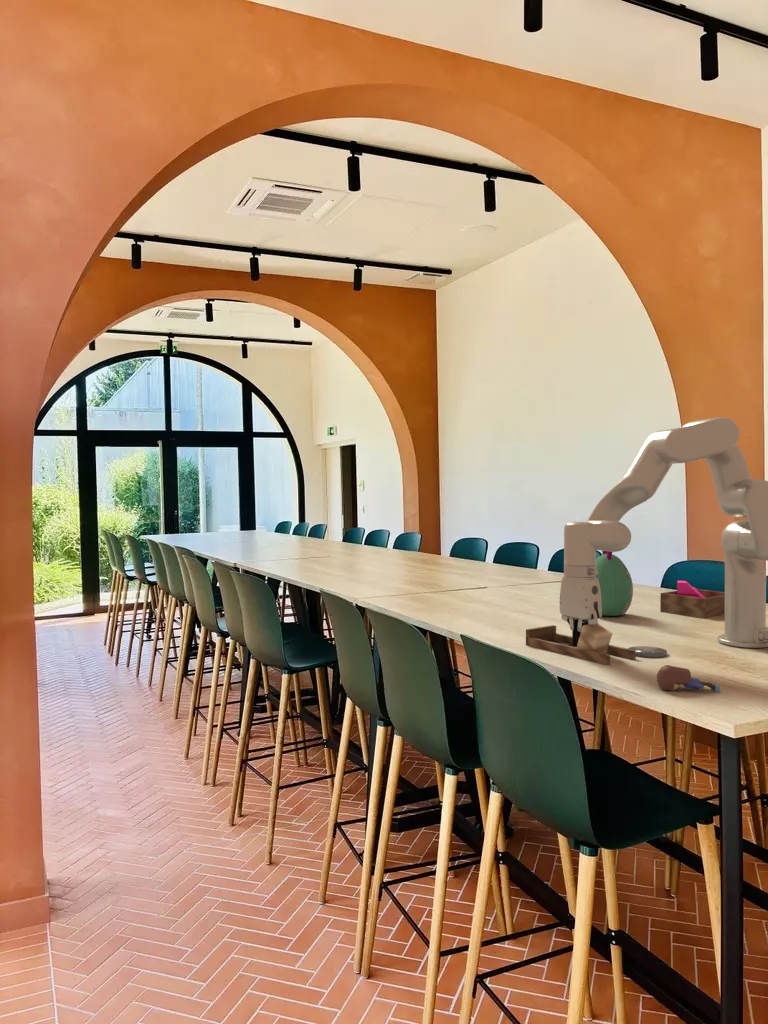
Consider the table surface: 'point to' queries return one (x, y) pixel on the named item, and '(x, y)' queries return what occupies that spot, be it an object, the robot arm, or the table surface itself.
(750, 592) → the robot arm
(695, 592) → the bracket
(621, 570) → the toy
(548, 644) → the channel
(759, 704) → the table surface
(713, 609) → the display box
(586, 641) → the block
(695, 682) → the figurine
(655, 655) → the coaster
